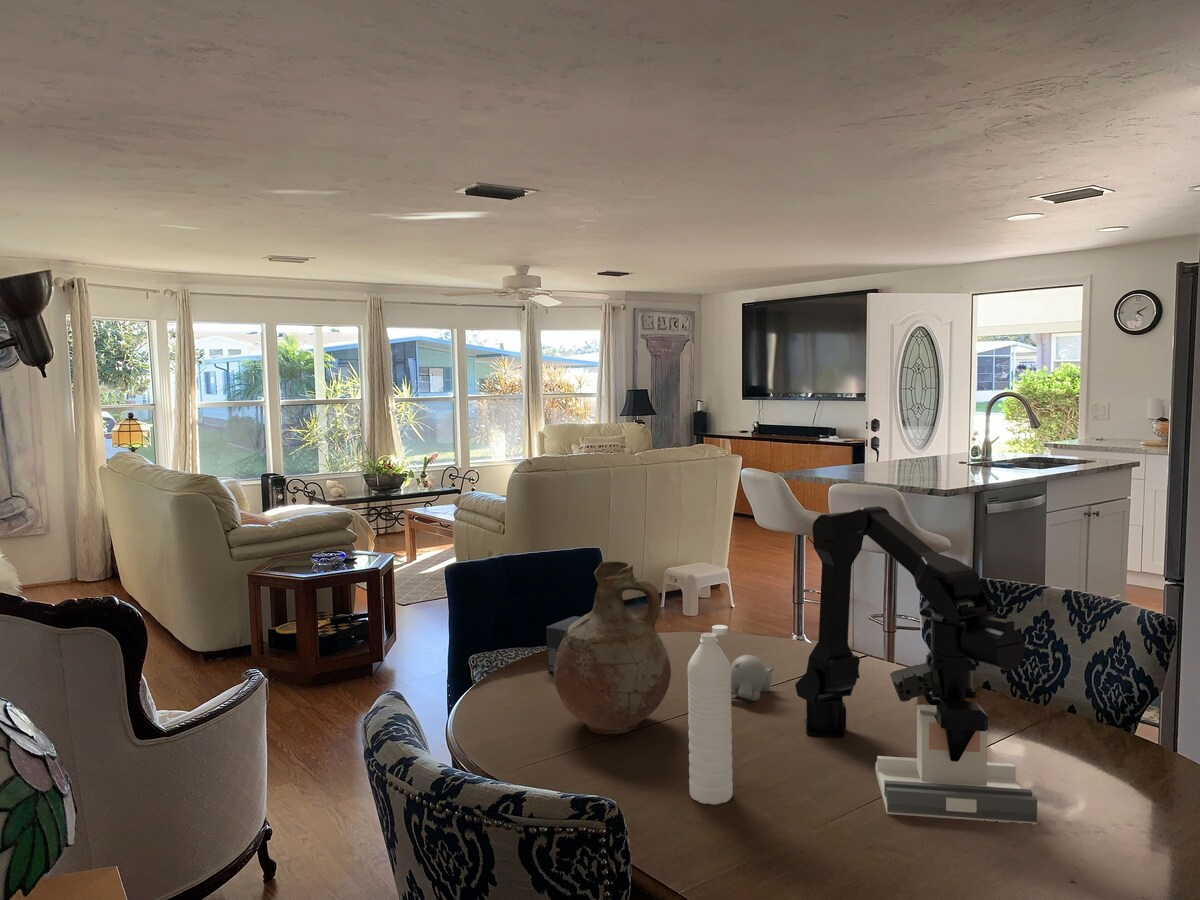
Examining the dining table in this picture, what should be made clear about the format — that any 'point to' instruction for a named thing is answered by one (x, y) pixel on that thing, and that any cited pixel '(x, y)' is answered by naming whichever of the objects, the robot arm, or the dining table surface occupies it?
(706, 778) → the water bottle
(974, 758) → the cream carton
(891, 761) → the shelf
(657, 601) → the jug
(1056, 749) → the dining table surface
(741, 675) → the round bodied animal figurine
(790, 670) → the dining table surface
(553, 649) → the small box
